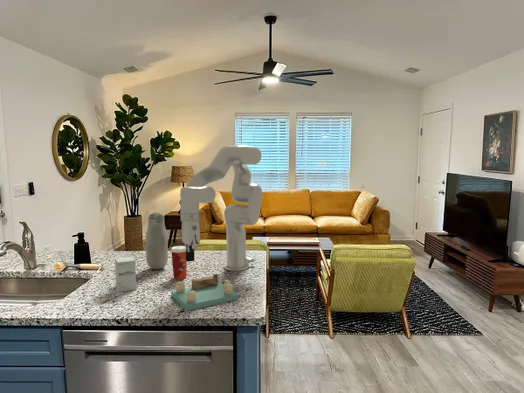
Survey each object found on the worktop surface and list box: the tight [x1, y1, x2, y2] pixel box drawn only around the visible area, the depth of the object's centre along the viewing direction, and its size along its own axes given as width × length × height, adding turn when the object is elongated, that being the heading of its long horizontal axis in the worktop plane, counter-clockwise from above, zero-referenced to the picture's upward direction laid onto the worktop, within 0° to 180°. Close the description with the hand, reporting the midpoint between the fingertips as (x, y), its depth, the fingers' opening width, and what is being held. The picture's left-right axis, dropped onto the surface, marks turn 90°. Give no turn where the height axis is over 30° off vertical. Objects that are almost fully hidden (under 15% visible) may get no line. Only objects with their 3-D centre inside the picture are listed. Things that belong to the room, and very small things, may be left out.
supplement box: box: [114, 256, 137, 293], centre depth 153 cm, size 7×7×13 cm
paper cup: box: [170, 245, 188, 280], centre depth 167 cm, size 8×8×14 cm
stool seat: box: [170, 279, 239, 312], centre depth 143 cm, size 21×17×6 cm
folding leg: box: [191, 273, 219, 289], centre depth 149 cm, size 11×2×4 cm, turn 121°
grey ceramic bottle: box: [144, 212, 169, 270], centre depth 180 cm, size 10×10×28 cm
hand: (190, 260), depth 151 cm, fingers closed
